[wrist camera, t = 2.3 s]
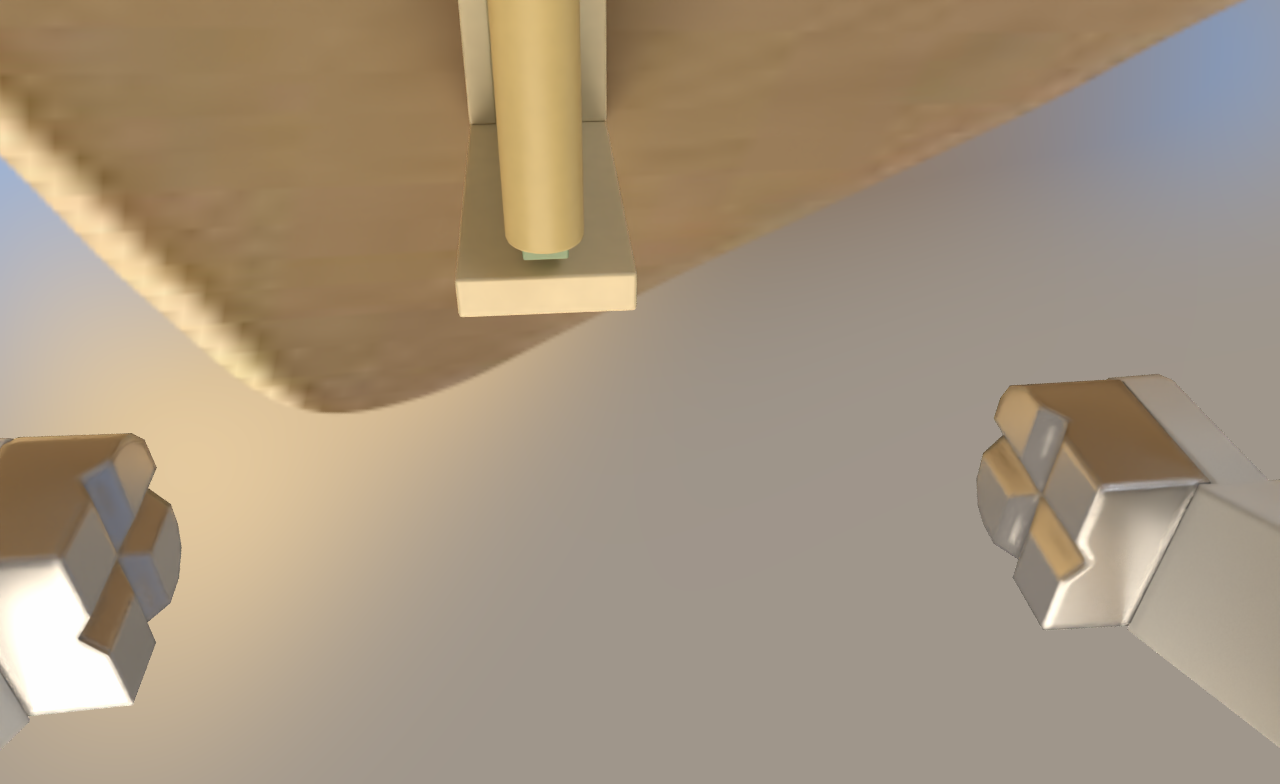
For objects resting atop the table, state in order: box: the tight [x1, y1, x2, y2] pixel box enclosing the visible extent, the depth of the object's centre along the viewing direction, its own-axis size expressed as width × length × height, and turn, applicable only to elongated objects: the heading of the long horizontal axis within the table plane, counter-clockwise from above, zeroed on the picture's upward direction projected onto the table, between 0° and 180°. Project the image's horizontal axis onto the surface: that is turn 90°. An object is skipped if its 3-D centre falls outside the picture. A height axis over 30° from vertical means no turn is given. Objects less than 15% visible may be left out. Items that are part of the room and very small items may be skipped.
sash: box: [487, 0, 584, 260], centre depth 21 cm, size 2×8×11 cm, turn 179°
